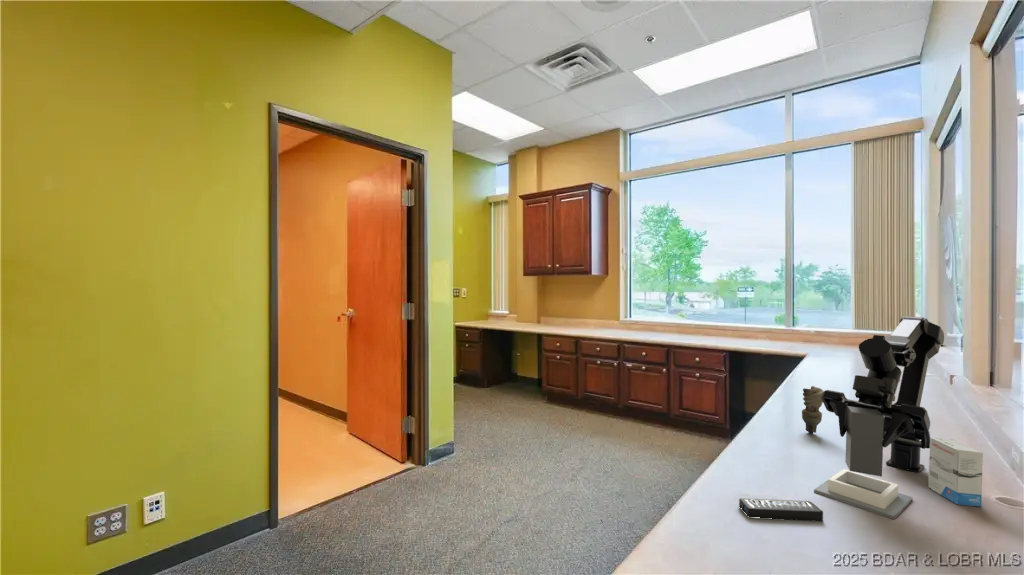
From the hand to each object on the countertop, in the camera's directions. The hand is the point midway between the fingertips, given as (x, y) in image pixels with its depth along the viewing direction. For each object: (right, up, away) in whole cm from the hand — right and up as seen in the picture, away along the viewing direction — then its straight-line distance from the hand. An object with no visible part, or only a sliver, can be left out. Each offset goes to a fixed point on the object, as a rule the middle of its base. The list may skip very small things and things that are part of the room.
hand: (861, 440), depth 98 cm
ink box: (+22, -13, +1) cm, 25 cm away
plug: (+1, -7, +1) cm, 7 cm away
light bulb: (+17, -13, +42) cm, 47 cm away
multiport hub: (-23, -13, -8) cm, 27 cm away
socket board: (+1, -12, +1) cm, 13 cm away
